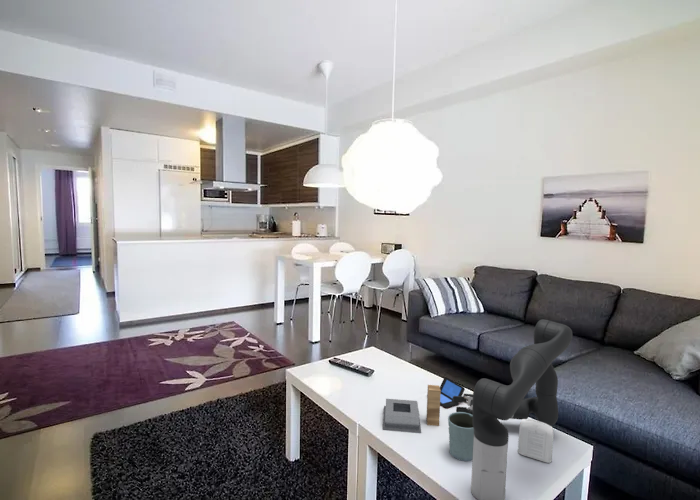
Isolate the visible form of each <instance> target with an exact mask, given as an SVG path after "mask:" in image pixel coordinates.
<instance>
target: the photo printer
mask: <svg viewBox="0 0 700 500" xmlns="http://www.w3.org/2000/svg"><path fill="white" fill-rule="evenodd" d="M518 432H519V433H518V441H517V443H518V444H517V453H518V454H519V455H522V456H525V457H528V458H530V459H534V460H537V461H541V462H543V463H548V464H550V463H551V462H552V460H553V459H552V458H553V448H554V447H553V446H554V437H555V434H554V430H553V426H549V425H548V424H545V423H543V422H540V421H538V419H532V418H527V419H522V420H521V422H520V423H519V431H518Z"/></svg>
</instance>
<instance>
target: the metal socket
mask: <svg viewBox="0 0 700 500" xmlns="http://www.w3.org/2000/svg"><path fill="white" fill-rule="evenodd" d="M418 404H419V402H418V400H410V399H409V400H407V399H396V398H395V399H394V398H385V405H383V418H382V419H383V421H382V422H383V423H382V431H394V432H404V433H416V434H418V433H419V434H422V429H421V428H422V427H421V419H420V411H419V405H418Z"/></svg>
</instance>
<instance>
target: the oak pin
mask: <svg viewBox="0 0 700 500" xmlns="http://www.w3.org/2000/svg"><path fill="white" fill-rule="evenodd" d="M440 386H441V385H436V384H427V394H426V396H427V397H426V418H425V419H426V424H427V426H433V427H439V426H440V418H441V417H440V415H441V414H440V413H441V412H440V411H441V410H440V409H441V406H440V395H441V390H440Z"/></svg>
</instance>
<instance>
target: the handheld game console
mask: <svg viewBox="0 0 700 500" xmlns="http://www.w3.org/2000/svg"><path fill="white" fill-rule="evenodd" d="M439 386H440V390H441V395H440V407H442V408H443V409H447V410H448V409H451V408H454V407H459V403H460V402H453V396H463V395H464V392H465V386H462V385H461V384H459V383H457V382H456V381H454V380H452V379H450V378H448V377H447V376H445V377H444V378H443V379H442V382H441V383H440V385H439Z"/></svg>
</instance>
